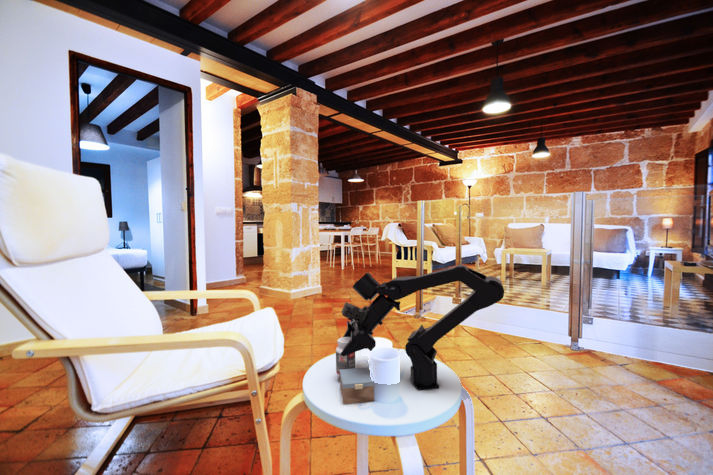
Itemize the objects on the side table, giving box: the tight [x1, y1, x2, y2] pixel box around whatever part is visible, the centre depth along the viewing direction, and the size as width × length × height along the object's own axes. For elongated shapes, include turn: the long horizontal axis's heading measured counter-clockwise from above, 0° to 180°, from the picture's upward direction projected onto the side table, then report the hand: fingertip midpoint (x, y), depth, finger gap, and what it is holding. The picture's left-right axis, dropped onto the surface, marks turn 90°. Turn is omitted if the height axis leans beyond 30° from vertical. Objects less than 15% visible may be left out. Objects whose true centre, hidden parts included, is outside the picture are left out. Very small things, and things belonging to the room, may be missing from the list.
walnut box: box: [339, 376, 375, 405], centre depth 81 cm, size 8×8×4 cm
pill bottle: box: [335, 336, 356, 377], centre depth 89 cm, size 6×6×10 cm
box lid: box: [339, 366, 375, 389], centre depth 81 cm, size 8×8×1 cm
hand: (340, 350), depth 89 cm, fingers closed on pill bottle, 6 cm apart
